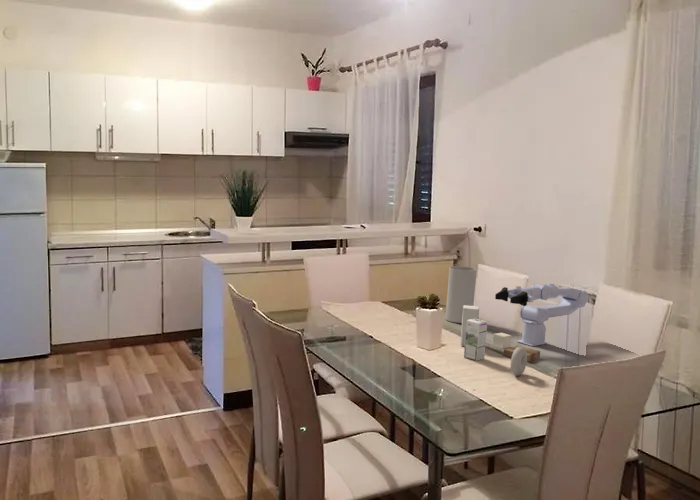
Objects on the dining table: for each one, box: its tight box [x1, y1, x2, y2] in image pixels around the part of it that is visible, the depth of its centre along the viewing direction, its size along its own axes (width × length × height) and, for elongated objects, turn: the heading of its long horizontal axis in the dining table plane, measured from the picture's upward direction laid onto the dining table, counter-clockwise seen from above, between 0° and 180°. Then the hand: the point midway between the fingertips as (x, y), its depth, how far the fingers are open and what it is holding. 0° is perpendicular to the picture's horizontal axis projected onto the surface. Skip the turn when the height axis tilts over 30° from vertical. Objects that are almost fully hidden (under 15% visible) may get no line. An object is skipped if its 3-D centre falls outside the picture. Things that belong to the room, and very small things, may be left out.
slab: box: [502, 345, 541, 363], centre depth 253 cm, size 10×10×3 cm
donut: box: [510, 346, 528, 377], centre depth 228 cm, size 10×4×10 cm, turn 147°
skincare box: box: [460, 305, 480, 347], centre depth 266 cm, size 8×7×16 cm
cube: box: [492, 332, 512, 350], centre depth 267 cm, size 5×5×5 cm
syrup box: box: [463, 319, 488, 361], centre depth 246 cm, size 6×6×14 cm
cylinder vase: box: [445, 265, 477, 324], centre depth 309 cm, size 12×12×25 cm
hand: (503, 298), depth 261 cm, fingers open, 7 cm apart
